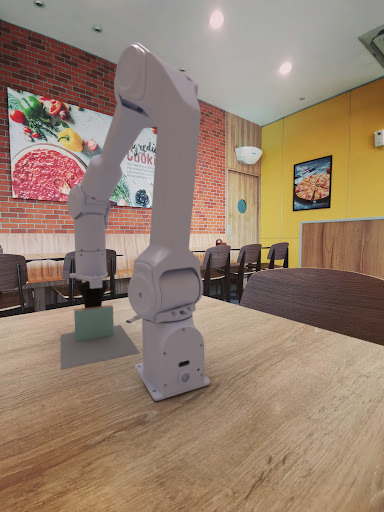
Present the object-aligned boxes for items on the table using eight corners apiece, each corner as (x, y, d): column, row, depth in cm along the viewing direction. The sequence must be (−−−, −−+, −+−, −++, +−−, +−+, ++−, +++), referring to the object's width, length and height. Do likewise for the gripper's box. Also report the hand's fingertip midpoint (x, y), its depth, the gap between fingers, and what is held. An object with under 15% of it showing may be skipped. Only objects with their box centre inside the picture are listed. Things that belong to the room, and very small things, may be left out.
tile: (113, 335, 52) (113, 306, 51) (75, 341, 49) (74, 311, 48) (112, 332, 53) (111, 304, 52) (75, 339, 50) (74, 309, 49)
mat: (139, 355, 44) (139, 352, 44) (61, 372, 38) (60, 369, 38) (120, 326, 58) (120, 325, 58) (60, 336, 53) (60, 334, 52)
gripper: (67, 250, 56) (70, 311, 57) (69, 253, 43) (73, 332, 44) (101, 249, 59) (103, 307, 60) (113, 251, 46) (115, 325, 47)
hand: (93, 317), depth 52 cm, fingers closed
